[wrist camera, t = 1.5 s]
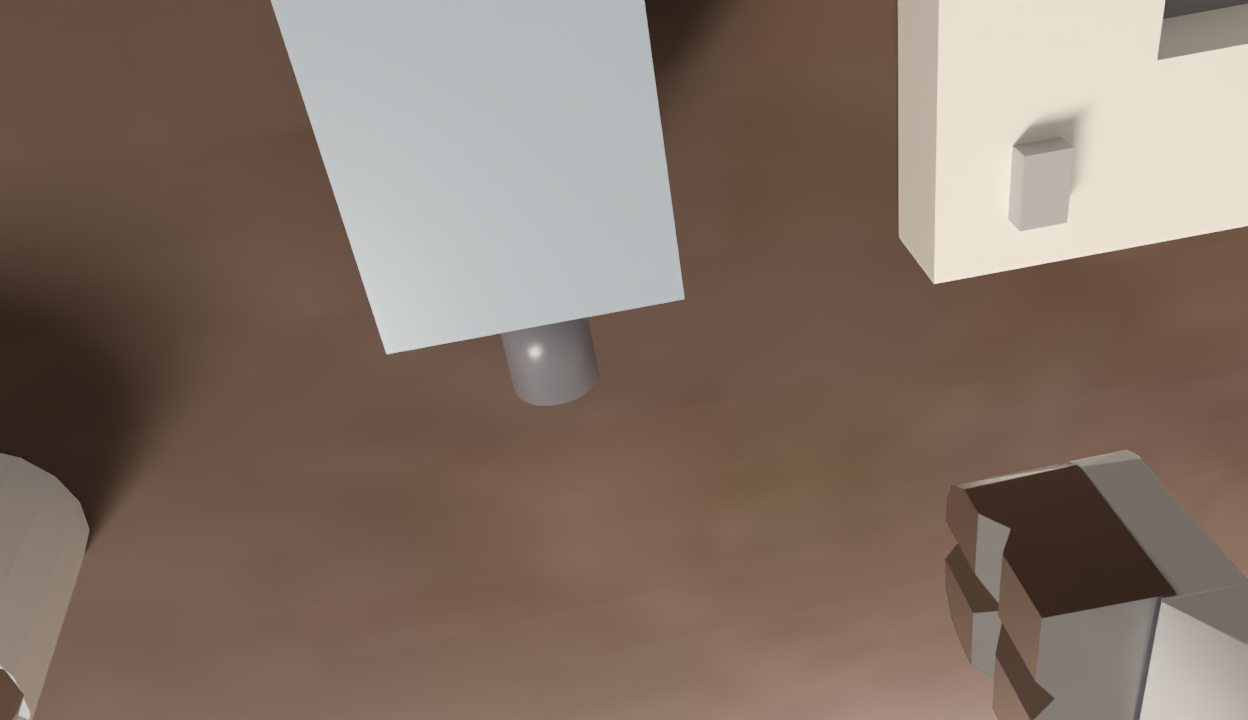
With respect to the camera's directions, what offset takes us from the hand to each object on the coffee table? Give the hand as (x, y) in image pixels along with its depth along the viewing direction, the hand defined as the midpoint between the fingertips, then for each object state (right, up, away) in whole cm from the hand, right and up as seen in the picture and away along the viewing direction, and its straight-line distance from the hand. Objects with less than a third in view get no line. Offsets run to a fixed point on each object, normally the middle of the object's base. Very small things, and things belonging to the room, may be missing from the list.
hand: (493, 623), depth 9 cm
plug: (-2, +9, +17) cm, 19 cm away
